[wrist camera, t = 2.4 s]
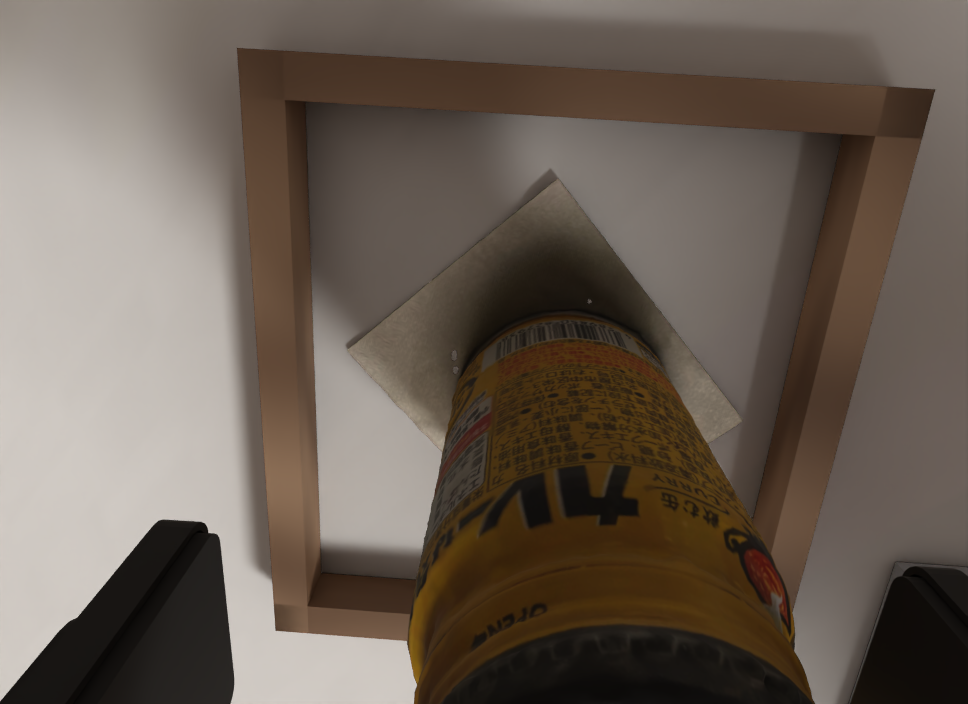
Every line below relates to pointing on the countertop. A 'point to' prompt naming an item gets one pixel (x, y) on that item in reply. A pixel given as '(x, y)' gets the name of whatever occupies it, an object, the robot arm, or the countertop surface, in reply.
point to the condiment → (575, 488)
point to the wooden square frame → (577, 94)
